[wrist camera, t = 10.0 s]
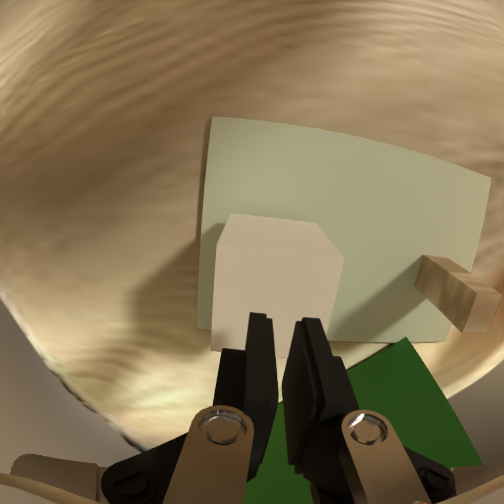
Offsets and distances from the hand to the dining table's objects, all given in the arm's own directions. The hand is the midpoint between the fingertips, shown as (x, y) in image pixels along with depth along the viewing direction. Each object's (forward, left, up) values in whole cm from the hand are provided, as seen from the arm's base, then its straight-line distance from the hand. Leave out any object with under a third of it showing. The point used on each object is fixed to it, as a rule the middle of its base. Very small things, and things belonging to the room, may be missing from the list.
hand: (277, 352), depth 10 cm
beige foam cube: (0, 0, -10) cm, 10 cm away
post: (0, +13, -11) cm, 17 cm away
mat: (-1, +6, -11) cm, 13 cm away
